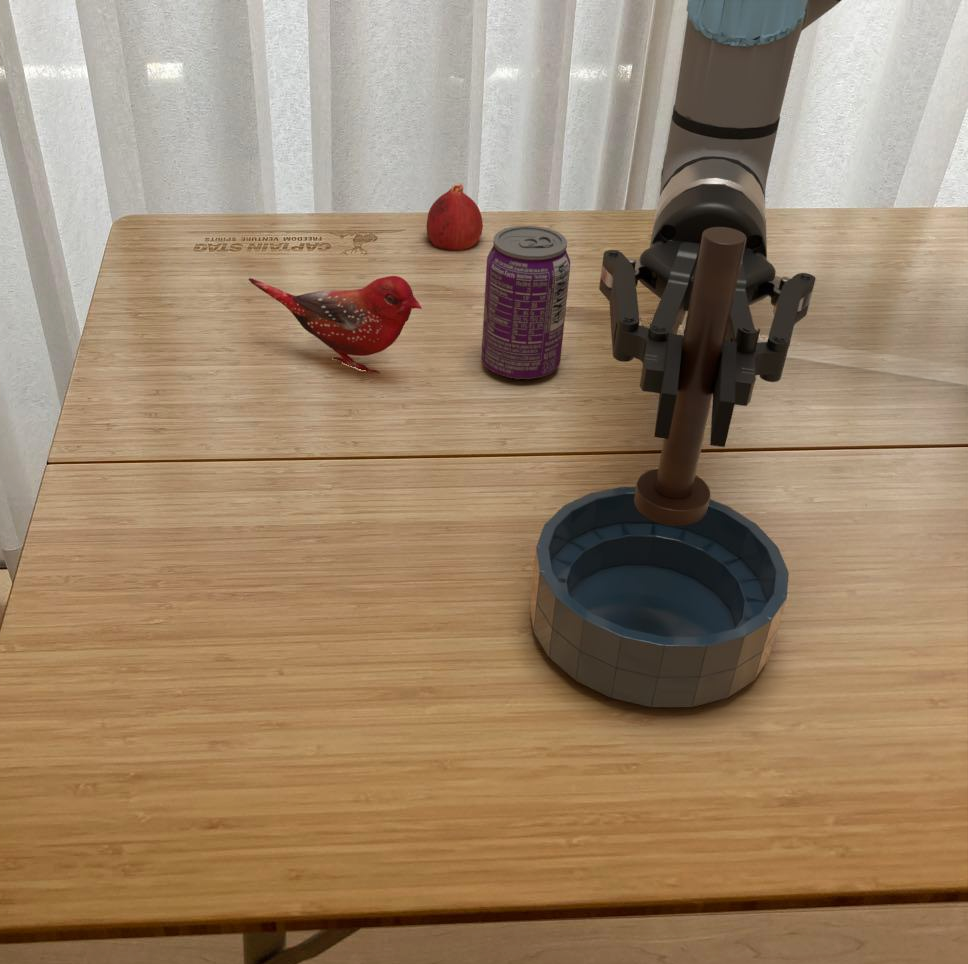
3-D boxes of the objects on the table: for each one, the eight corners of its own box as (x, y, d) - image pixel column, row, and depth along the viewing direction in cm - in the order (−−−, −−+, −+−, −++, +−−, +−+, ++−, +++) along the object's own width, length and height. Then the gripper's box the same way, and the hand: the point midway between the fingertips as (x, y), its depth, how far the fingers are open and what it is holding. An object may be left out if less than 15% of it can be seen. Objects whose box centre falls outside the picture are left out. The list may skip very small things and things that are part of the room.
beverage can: (548, 344, 104) (560, 221, 96) (568, 383, 98) (583, 255, 91) (473, 349, 103) (480, 225, 95) (490, 389, 97) (498, 260, 90)
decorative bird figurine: (412, 396, 96) (414, 290, 90) (244, 346, 102) (234, 243, 96) (428, 381, 98) (430, 276, 92) (262, 333, 104) (253, 232, 98)
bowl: (774, 579, 78) (793, 511, 74) (759, 741, 66) (781, 671, 62) (556, 535, 81) (564, 468, 78) (505, 683, 70) (511, 612, 66)
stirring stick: (710, 490, 69) (771, 224, 58) (703, 533, 65) (766, 259, 54) (639, 477, 69) (686, 213, 59) (628, 518, 66) (675, 246, 55)
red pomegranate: (439, 273, 115) (441, 198, 110) (417, 251, 119) (418, 178, 114) (489, 264, 117) (494, 189, 112) (466, 242, 121) (469, 170, 116)
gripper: (811, 301, 76) (828, 501, 58) (589, 274, 79) (540, 458, 61) (839, 195, 71) (867, 377, 54) (602, 170, 74) (553, 336, 56)
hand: (693, 419), depth 57 cm, fingers closed on stirring stick, 2 cm apart
